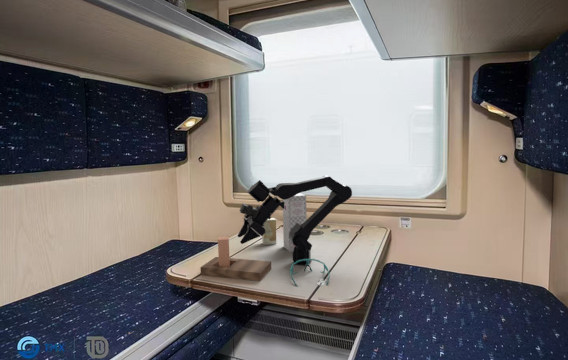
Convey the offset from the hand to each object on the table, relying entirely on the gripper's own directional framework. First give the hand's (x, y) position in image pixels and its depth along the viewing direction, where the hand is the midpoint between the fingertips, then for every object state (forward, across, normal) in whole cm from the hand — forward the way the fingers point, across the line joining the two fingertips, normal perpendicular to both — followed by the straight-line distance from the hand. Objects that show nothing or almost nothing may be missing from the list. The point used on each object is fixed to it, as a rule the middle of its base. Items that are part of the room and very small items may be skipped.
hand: (239, 239), depth 134 cm
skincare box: (-4, -30, +21) cm, 37 cm away
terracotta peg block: (+13, 0, +4) cm, 13 cm away
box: (-11, -20, +28) cm, 36 cm away
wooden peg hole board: (+10, +3, +7) cm, 12 cm away
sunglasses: (-7, +16, +25) cm, 31 cm away
